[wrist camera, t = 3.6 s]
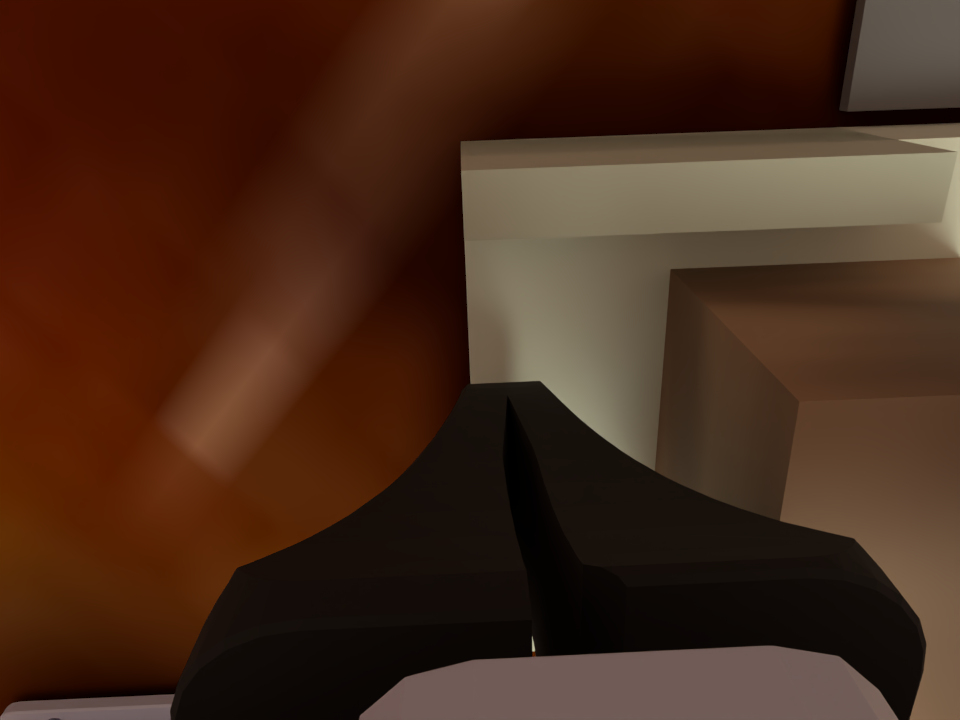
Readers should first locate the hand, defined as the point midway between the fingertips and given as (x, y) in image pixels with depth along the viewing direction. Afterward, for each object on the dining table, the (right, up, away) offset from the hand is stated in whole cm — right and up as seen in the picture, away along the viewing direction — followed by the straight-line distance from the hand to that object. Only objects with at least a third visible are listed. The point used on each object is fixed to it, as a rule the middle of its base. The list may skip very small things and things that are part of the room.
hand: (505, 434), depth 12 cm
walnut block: (+5, +1, +1) cm, 6 cm away
